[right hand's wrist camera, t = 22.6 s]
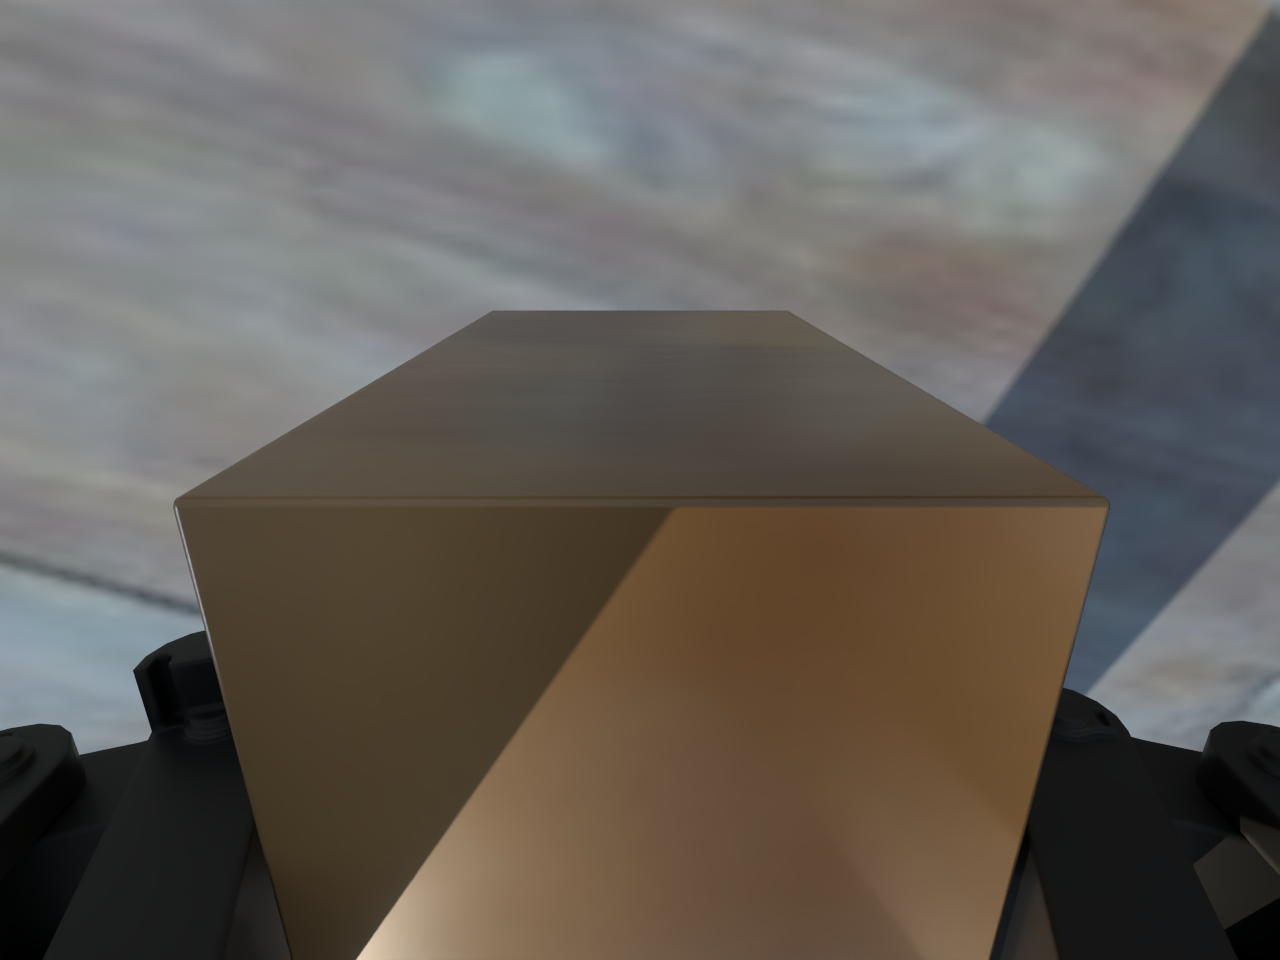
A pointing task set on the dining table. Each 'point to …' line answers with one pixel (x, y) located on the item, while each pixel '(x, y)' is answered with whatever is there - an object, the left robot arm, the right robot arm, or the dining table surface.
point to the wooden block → (641, 648)
